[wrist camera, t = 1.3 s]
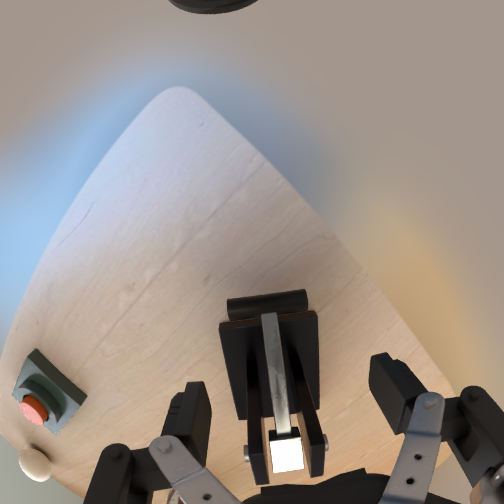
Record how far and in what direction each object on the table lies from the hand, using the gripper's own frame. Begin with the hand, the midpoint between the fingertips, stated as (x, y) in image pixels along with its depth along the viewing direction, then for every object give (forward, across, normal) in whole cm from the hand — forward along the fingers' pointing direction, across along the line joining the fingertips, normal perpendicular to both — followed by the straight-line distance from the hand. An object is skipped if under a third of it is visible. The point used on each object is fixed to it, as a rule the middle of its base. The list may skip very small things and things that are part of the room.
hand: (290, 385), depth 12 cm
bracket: (+14, 0, +9) cm, 17 cm away
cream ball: (+14, +47, +31) cm, 58 cm away
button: (+10, +32, +12) cm, 35 cm away
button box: (+14, +32, +12) cm, 37 cm away
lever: (+6, 0, +5) cm, 8 cm away
